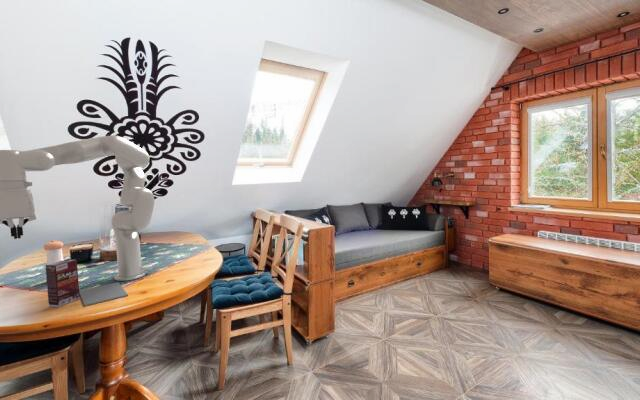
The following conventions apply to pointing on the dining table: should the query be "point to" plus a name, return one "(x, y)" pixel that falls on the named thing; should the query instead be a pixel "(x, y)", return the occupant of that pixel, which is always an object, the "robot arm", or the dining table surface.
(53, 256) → the pepper shaker
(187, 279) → the dining table surface
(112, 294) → the mat
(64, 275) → the supplement box
